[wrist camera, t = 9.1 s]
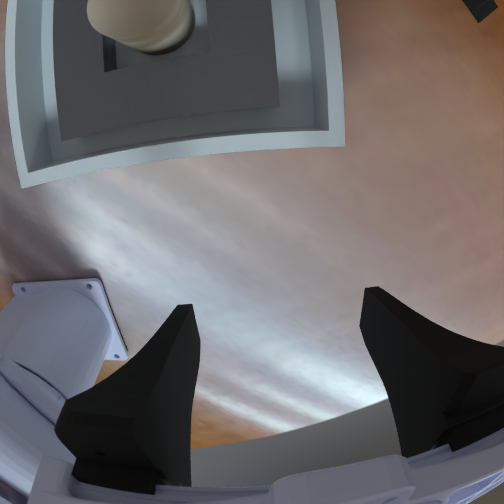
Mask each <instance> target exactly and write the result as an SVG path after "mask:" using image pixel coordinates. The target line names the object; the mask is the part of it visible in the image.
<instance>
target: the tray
mask: <svg viewBox="0 0 504 504" xmlns="http://www.w3.org/2000/svg"><path fill="white" fill-rule="evenodd" d="M189 2H190V4H191V6H192V8H193V10H194V13H195V17H196V22H195V27H194V30H193V33H192V35H191V36H190V38H189V39H188V40H187V41H186V42H185V44H183V45H182V46H181V47H180V48H178V49H177V50H175V51H173V52H170V53H168V54H164V55H148V54H144V53H142V52H140V51H138V50H136V49H134V48H131V47H129V46H127V45H125V44H123V43H121V42H119V41H117V40H115V44H116V60H117V69H120V68H124V67H128V66H132V65H137V64H141V63H146V62H151V61H156V60H161V59H166V58H172V57H178V56H184V55H191V54H198V53H206V52H210V47H209V34H208V21H207V7H206V0H189ZM53 3H54V0H8V7H7V19H6V44H5V62H6V87H7V101H8V112H9V121H10V129H11V136H12V142H13V149H14V155H15V160H16V165H17V171H18V175H19V180H20V185H21V189H23V188H27V187H31V186H35V185H39V184H43V183H47V182H51V181H55V180H59V179H64V178H68V177H73V176H77V175H82V174H87V173H92V172H97V171H102V170H107V169H112V168H118V167H123V166H129V165H135V164H141V163H148V162H154V161H161V160H168V159H175V158H183V157H191V156H199V155H208V154H218V153H228V152H239V151H251V150H265V149H282V148H303V147H345V124H344V98H343V80H342V65H341V52H340V41H339V31H338V21H337V13H336V5H335V0H271V6H272V16H273V27H274V38H275V50H276V62H277V75H278V88H279V102H280V107H276V108H258V109H244V110H232V111H222V112H212V113H203V114H195V115H188V116H181V117H174V118H167V119H161V120H155V121H150V122H144V123H139V124H133V125H128V126H124V127H119V128H114V129H110V130H105V131H101V132H97V133H92V134H88V135H84V136H81V137H77V138H73V139H69V140H66V141H61V134H60V127H59V119H58V111H57V102H56V91H55V79H54V61H53Z"/></svg>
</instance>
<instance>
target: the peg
mask: <svg viewBox="0 0 504 504" xmlns="http://www.w3.org/2000/svg"><path fill="white" fill-rule="evenodd" d="M87 16H88V19H89V22H90V24H91V25H92V27H93V28H94V29H95V30H96V31H98V32H99V33H101V34H103V35H105V36H108V37H110V38H112V39H114V40H117V41H119V42H121V43H123V44H125V45H127V46H129V47H131V48H134V49H136V50H138V51H140V52H142V53H144V54H148V55H164V54H168V53H170V52H173V51H175V50H177V49H178V48H180V47H181V46H182V45H183V44H185V42H186V41H187V40H188V39H189V38H190V36H191V35H192V33H193V30H194V27H195V22H196V17H195V13H194V10H193V8H192V6H191V4H190V2H189V0H88V3H87Z"/></svg>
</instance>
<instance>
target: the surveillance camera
mask: <svg viewBox="0 0 504 504" xmlns="http://www.w3.org/2000/svg"><path fill="white" fill-rule="evenodd" d="M462 1H463V2H464V3H465V5H466V6H467V7H468V9H469V10H470V12H471V13H472V15H473V16H474V17H475V19H476V20H477V22H478V23H479V22H481V21H482V20H483V19H484V18H486V17H487V16H488V15H489V14H490V13H491V12H493V11H494V10H495V9H496V8H497V7H498V6H497V5H496V3H495V2H494V0H462Z"/></svg>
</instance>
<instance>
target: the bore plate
mask: <svg viewBox="0 0 504 504" xmlns="http://www.w3.org/2000/svg"><path fill="white" fill-rule="evenodd" d="M87 3H88V0H54V3H53V61H54V79H55V91H56V102H57V111H58V119H59V127H60V134H61V141H66V140H69V139H73V138H77V137H81V136H84V135H88V134H92V133H97V132H101V131H105V130H110V129H114V128H119V127H124V126H128V125H133V124H139V123H144V122H150V121H155V120H161V119H167V118H174V117H181V116H188V115H195V114H203V113H212V112H222V111H232V110H244V109H258V108H276V107H280V102H279V88H278V75H277V62H276V50H275V38H274V27H273V16H272V6H271V0H206V7H207V21H208V34H209V47H210V52H206V53H198V54H191V55H184V56H178V57H172V58H166V59H161V60H156V61H151V62H146V63H141V64H137V65H132V66H128V67H124V68H120V69H117V60H116V44H115V40H114V39H112V38H110V37H108V36H105V35H103V34H101V33H99V32H98V31H96V30H95V29H94V28H93V27H92V25H91V24H90V22H89V19H88V16H87Z"/></svg>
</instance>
